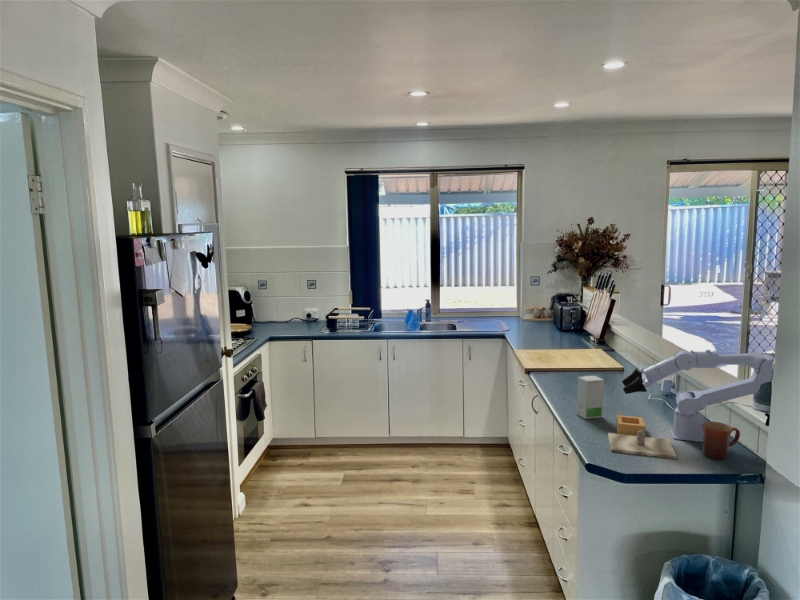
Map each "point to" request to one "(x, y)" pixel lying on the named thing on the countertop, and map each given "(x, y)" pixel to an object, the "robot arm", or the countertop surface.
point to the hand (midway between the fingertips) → (623, 387)
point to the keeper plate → (641, 445)
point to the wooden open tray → (629, 425)
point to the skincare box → (590, 397)
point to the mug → (718, 439)
